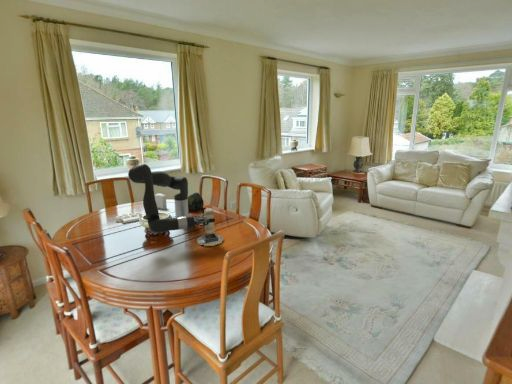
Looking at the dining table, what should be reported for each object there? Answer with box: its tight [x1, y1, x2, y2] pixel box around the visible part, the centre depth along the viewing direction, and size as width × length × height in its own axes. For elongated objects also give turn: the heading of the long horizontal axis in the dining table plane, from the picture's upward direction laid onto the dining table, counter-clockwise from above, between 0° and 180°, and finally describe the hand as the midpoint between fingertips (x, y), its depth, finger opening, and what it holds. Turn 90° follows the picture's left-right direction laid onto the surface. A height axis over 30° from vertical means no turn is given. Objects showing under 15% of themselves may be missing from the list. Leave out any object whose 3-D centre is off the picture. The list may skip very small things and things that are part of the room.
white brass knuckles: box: [115, 211, 143, 224], centre depth 218 cm, size 3×18×15 cm
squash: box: [188, 192, 205, 211], centre depth 240 cm, size 14×15×15 cm
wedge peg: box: [203, 207, 215, 234], centre depth 177 cm, size 4×4×14 cm
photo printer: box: [154, 193, 167, 210], centre depth 243 cm, size 10×4×12 cm, turn 60°
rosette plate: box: [196, 232, 224, 247], centre depth 180 cm, size 16×16×3 cm
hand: (213, 218), depth 178 cm, fingers closed on wedge peg, 4 cm apart
